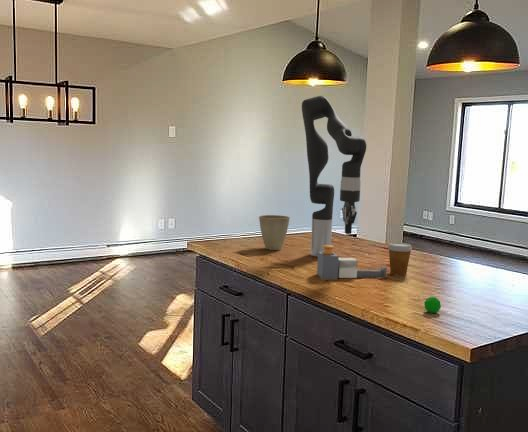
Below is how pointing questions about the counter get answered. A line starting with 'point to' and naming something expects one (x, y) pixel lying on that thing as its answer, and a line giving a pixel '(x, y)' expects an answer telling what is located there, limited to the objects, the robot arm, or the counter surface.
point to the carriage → (347, 268)
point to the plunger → (328, 249)
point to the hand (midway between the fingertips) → (347, 233)
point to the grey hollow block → (327, 266)
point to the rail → (372, 273)
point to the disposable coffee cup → (399, 258)
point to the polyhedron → (432, 305)
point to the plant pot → (273, 230)
